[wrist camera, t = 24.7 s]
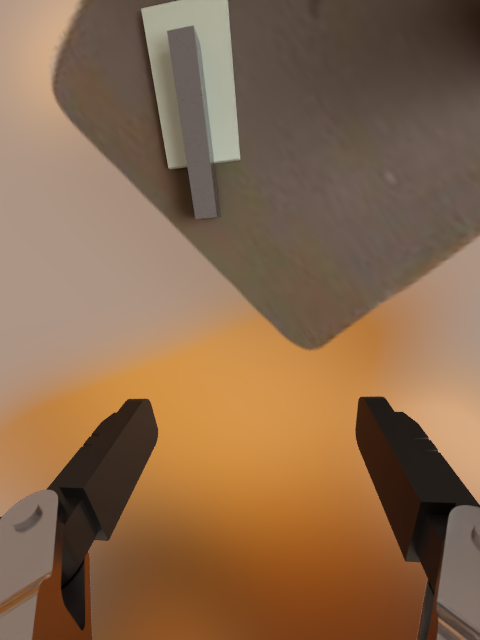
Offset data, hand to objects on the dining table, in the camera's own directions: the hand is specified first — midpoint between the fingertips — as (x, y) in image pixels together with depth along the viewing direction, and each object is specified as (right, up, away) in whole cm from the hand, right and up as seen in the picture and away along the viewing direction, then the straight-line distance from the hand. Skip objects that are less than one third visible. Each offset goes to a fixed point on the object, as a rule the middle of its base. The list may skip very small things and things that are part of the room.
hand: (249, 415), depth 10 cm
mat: (-6, +33, +22) cm, 40 cm away
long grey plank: (-6, +27, +23) cm, 36 cm away
